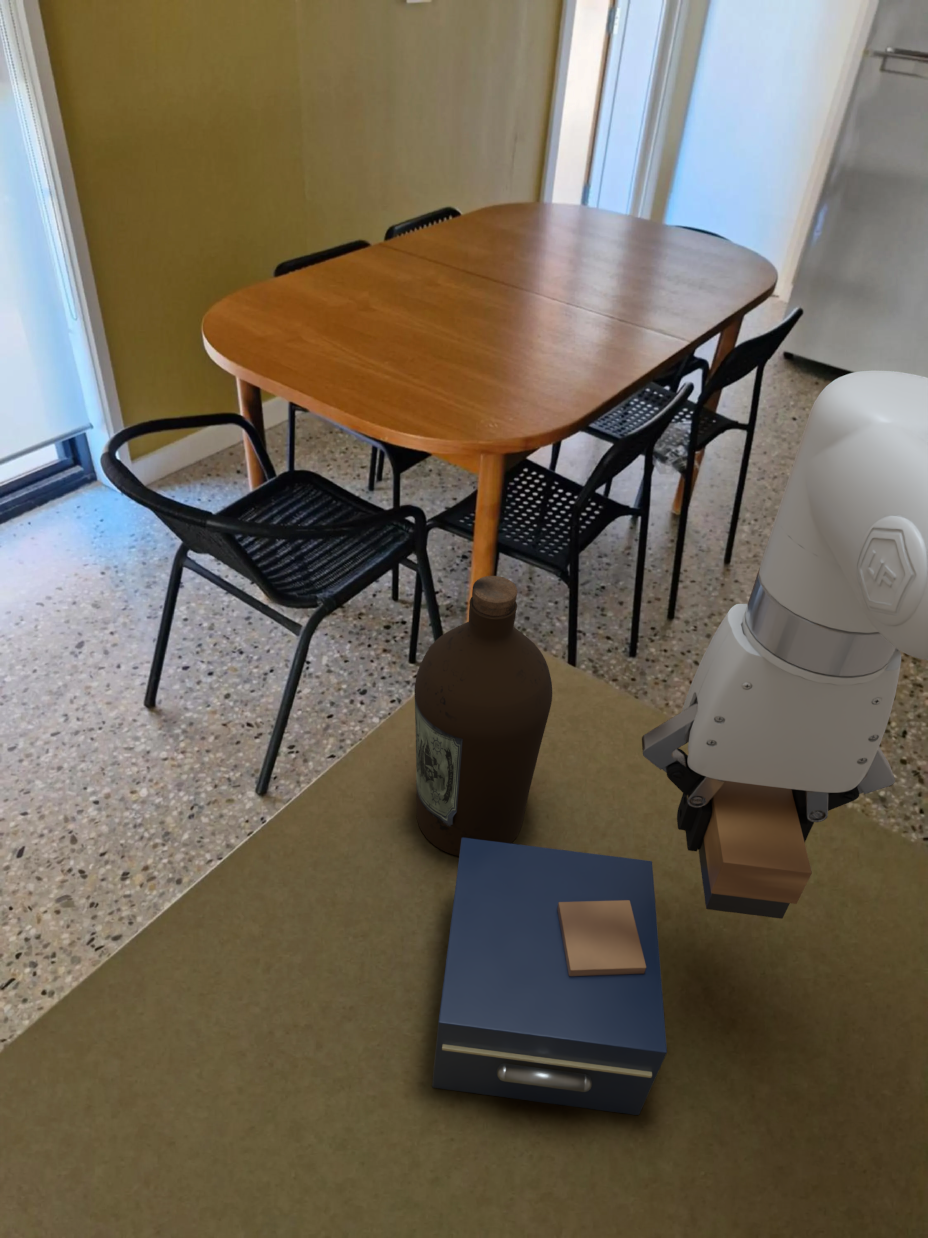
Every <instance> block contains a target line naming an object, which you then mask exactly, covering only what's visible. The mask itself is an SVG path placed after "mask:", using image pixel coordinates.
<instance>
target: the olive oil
mask: <svg viewBox="0 0 928 1238" xmlns="http://www.w3.org/2000/svg"><path fill="white" fill-rule="evenodd" d="M517 597H518V588H517V586H516V584H515V583H514V582H513V581H512V580H510V579H508V578H506V577H504V576H500V575H499V576H498V575H487V576H482V577H480V578H478V579H476V580H475V581H474V583H473V585H472V589H471V597H470V599H469V607H468V621H467V622H464V623H461V624H460V625H457V626H456V627H454V628H452V629H450V630H448V631H446V632H445V633H443V634H442V635H441V636H439V637H438V638H437V639H436V640H435V641H434V642H433V643H432V644H431V645H430V647H429V648H428V649H427V651H426V652H425V654H424V656H423V657H422V660H421V662H420V665H419V667H418V670H417V673H416V677H415V682H414V719H415V721H414V723H415V767H416V768H415V773H416V776H415V778H416V779H415V782H416V783H415V785H416V788H415V789H416V791H415V792H416V797H415V798H416V799H415V801H416V803H415V804H416V805H415V813H416V820H417V823H418V826H419V829H420V831H421V832H422V834H423V835H424V837H425V838H426V839H427V840H428V841H429V842H430V843H431V844H432V845H434V847H436V848H438V849H439V850H440V851H443V852H445V853H448V854H450V855H453V856H456V857H459V854H460V846H461V838H471V839H479V840H487V841H495V842H503V843H511V844H513V842H514V841H515V840H516V838H517V837H518V835H519V833H520V831H521V829H522V826H523V821H524V817H525V813H526V808H527V804H528V800H529V794H530V790H531V786H532V781H533V777H534V774H535V769H536V765H537V761H538V757H539V753H540V748H541V745H542V741H543V738H544V734H545V731H546V727H547V723H548V720H549V715H550V712H551V708H552V707H551V706H552V702H553V681H552V677H551V672H550V667H549V665H548V662H547V660H546V658H545V656H544V655H543V653H542V651H541V650H540V648H539V647H538V646H537V645H536V644H535V643H534V642H533V641H532V640H531V639H530V638H529V637H528V636H527V635H525V634H524V633H523V632H521V631H520V630H519V629H518V628H516V626H515V622H516V615H517V609H518V605H517V604H518V603H517Z"/></svg>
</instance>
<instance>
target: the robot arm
mask: <svg viewBox="0 0 928 1238" xmlns="http://www.w3.org/2000/svg"><path fill="white" fill-rule="evenodd" d="M902 653H904V654H906V655H908V656H910V657H913V658H916V659H919V660H922V661H928V377H927V376H923V375H919V374H914V373H909V372H902V371H893V370H877V369H876V370H875V369H873V370H872V369H871V370H860V371H854V372H850V373H847V374H845V375H842V376H839V377H837V378H835V379H834V380H832V381H831V382H830V383H829V384H827V385H826V386H825V387H824V388H823V390H821V392H820V393H819V394H818V396H817V397H816V399H815V400H814V402H813V405H812V407H811V409H810V412H809V414H808V417H807V420H806V424H805V427H804V429H803V433H802V435H801V438H800V442H799V445H798V448H797V451H796V454H795V457H794V459H793V463H792V466H791V469H790V472H789V476H788V478H787V481H786V485H785V487H784V491H783V494H782V497H781V500H780V502H779V506H778V509H777V513H776V515H775V519H774V521H773V524H772V528H771V531H770V535H769V536H768V540H767V542H766V546H765V549H764V553H763V555H762V558H761V561H760V564H759V568H758V571H757V574H756V576H755V580H754V583H753V587H752V589H751V592H750V596H749V598H748V601H747V603H736V604H734V605H733V606H732V607H730V609H729V611H727V613H726V614H725V616H724V617H723V619H722V621H721V622H720V624H719V625H718V627H717V628H716V630H715V633H714V634H713V636H712V638H711V640H710V642H709V643H708V646H707V647H706V649H705V651H704V654H703V656H702V658H701V660H700V662H699V664H698V667H697V669H696V671H695V674H694V675H693V679H692V681H691V683H690V685H689V688H688V691H687V694H686V696H685V700H684V703H683V706H682V711H680V712H679V713H677V714H675V715H674V716H672V717H671V718H669V719H667V720H666V721H664V722H662V723H661V724H659V725H657V726H656V727H654V728H653V729H651V730H650V731H648V732H646V733H644V734H643V735H642V737H641V750H642V755H643V757H644V758H645V759H646V760H648V761H649V762H650V763H651V764H653V766H655V767H657V768H658V769H659V770H660V771H661V770H662V771H663V772H665V774H666V778H668V780H669V781H670V782H671V783H672V784H674V786H675V787H676V788H678V790H679V791H680V792H681V793H682V795H681V798H680V801H679V805H678V807H677V813H676V823H677V824H676V825H677V830H679V831H684V832H685V838H686V839H685V840H686V847H687V851H690V852H698V851H699V850H700V849H701V846H702V843H703V840H704V836H705V833H706V830H707V827H708V825H709V822H710V819H711V816H712V804H711V799H712V797H713V796H714V795H715V794H716V793H717V791H718V790H719V789H720V788H721V787H722V786H723V784H724V783H725V782H726V781H732V782H739V783H746V784H755V785H763V786H771V787H779V788H788V789H791V790H792V794H793V798H794V802H795V806H796V810H797V814H798V818H799V822H800V826H801V830H802V834H803V838H804V842H805V843H806V841H807V839H808V836H809V835H810V832H811V830H812V828H813V826H814V824H815V823H821V822H823V821H825V820H826V819H827V818H828V816H829V811H831V810H834V809H837V808H839V807H841V806H844V805H846V804H850V803H851V802H854V801H856V800H857V799H858V798H859V797H860V795H861V794H863V795H866V794H870V793H873V792H876V791H879V790H883V789H885V788H888V787H890V786H892V785H895V782H896V778H895V775H894V772H893V770H892V767H891V764H890V762H889V760H888V759H887V757H886V755H885V754H884V752H883V750H882V749H881V743H882V740H883V738H884V735H885V732H886V729H887V726H888V723H889V720H890V717H891V714H892V710H893V706H894V702H895V697H896V693H897V689H898V683H899V677H900V673H901V666H902ZM686 744H687V751H688V754H687V753H686V752H685V751H684V750H683V749H681V747H683V746H684V745H686Z"/></svg>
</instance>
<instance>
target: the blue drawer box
mask: <svg viewBox="0 0 928 1238" xmlns="http://www.w3.org/2000/svg"><path fill="white" fill-rule="evenodd" d="M653 868H654V867H653V861H652V860H646V859H640V858H639V859H638V858H631V857H624V856H623V857H621V856H615V855H607V854H606V855H605V854H599V853H598V854H597V853H591V852H583V851H574V850H566V849H559V848H558V849H557V848H551V847H542V846H535V845H526V844H519V843H503V842H495V841H487V840H479V839H471V838H461V846H460V854H459V856H458V864H457V871H456V879H455V885H454V886H455V887H454V888H455V889H454V895H453V903H452V909H451V917H450V918H451V920H450V927H449V935H448V943H447V949H446V950H447V951H446V960H445V966H444V976H443V982H442V990H441V998H440V1006H439V1012H438V1013H439V1015H438V1022H437V1033H436V1040H435V1041H436V1042H435V1052H434V1062H433V1063H434V1064H433V1072H432V1083H431V1087H432V1089H433V1088H434V1089H441V1090H447V1091H448V1090H449V1091H455V1092H463V1093H470V1094H476V1095H477V1094H478V1095H485V1096H493V1097H499V1098H500V1097H501V1098H508V1099H515V1100H522V1101H529V1102H537V1103H543V1104H544V1103H545V1104H552V1105H559V1106H567V1107H574V1108H582V1109H588V1110H595V1111H604V1112H612V1113H618V1114H624V1115H625V1114H627V1115H634V1116H639V1115H640V1113H641V1111H642V1110H643V1107H644V1105H645V1102H646V1100H647V1098H648V1096H649V1093H650V1092H651V1089H652V1087H653V1085H654V1082H655V1080H656V1078H657V1076H658V1074H659V1071H660V1069H661V1067H662V1065H663V1062H664V1060H665V1057H666V1056H667V1054H668V1049H667V1048H668V1047H667V1035H666V1020H665V1008H664V995H663V983H662V972H661V971H662V969H661V959H660V958H661V957H660V945H659V933H658V921H657V920H658V919H657V905H656V895H655V894H656V893H655V892H656V891H655V881H654V880H655V879H654V869H653ZM619 900H629V901H630V904H631V908H632V912H633V916H634V920H635V924H636V928H637V932H638V936H639V940H640V944H641V948H642V952H643V956H644V960H645V964H646V970H645V972H644V974H620V975H592V976H569V974H568V968H567V962H566V956H565V951H564V945H563V939H562V934H561V928H560V922H559V917H558V911H557V907H558V903H559V902H581V901H619Z"/></svg>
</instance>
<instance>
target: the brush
mask: <svg viewBox="0 0 928 1238" xmlns="http://www.w3.org/2000/svg"><path fill="white" fill-rule="evenodd" d="M711 804H712V816H711V819H710V822H709V825H708V827H707V830H706V833H705V836H704V840H703V843H702V846H701V849H700V850H698V856H699V857H698V858H699V863H700V871H701V872H700V873H701V879H702V887H703V895H704V903H705V909H706V910H710V911H718V912H725V913H726V912H727V913H734V914H742V915H749V916H757V917H765V918H774V919H779V920H781V919H783V918H784V916H785V915H786V913H787V910H788V909H789V907H790V904H794V905H797V904H798V902H799V900H800V898H801V896H802V894H803V892H804V890H805V889H806V886H807V884H808V882H809V880H810V879H811V876H812V874H813V872H812V871H813V870H812V867H811V863H810V858H809V854H808V851H807V847H806V841H805V842H804V838H803V834H802V830H801V826H800V822H799V818H798V814H797V810H796V806H795V802H794V798H793V794H792V790H791V789H788V788H779V787H771V786H763V785H755V784H746V783H739V782H732V781H726V782H725V783H724V784H723V786H722V787H721V788H720V789H719V790H718V791H717V793H716V794H715V795H714V796H713V797H712V799H711Z"/></svg>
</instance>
